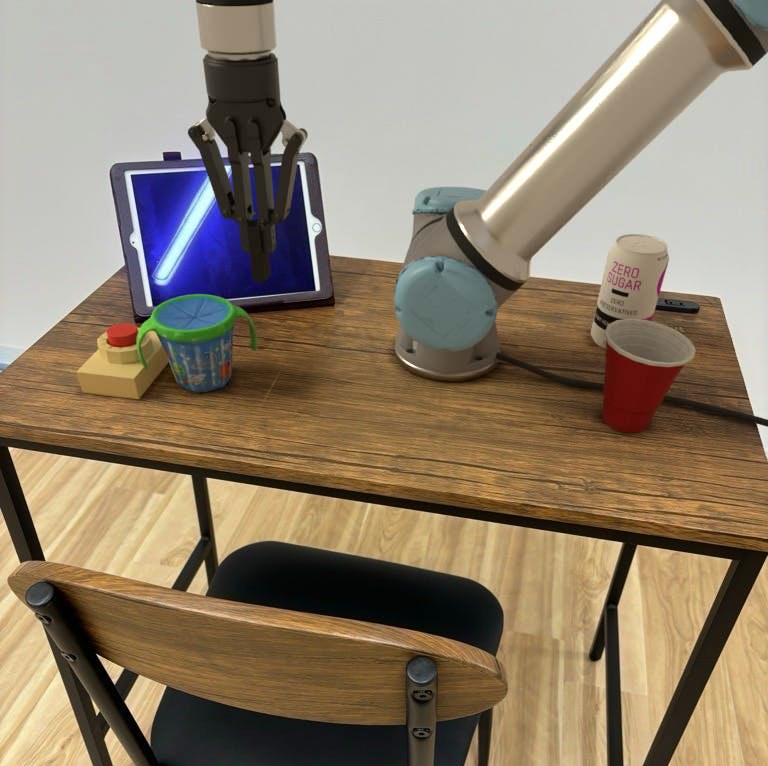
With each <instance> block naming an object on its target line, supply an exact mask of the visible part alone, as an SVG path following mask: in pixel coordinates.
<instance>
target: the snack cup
mask: <svg viewBox="0 0 768 766" xmlns="http://www.w3.org/2000/svg"><path fill="white" fill-rule="evenodd" d="M239 317H240V318H244V319H247V323H248V329H249V335H250V343H249V345H250V348H251V350H252V351H254V352H255V351H257V349H258V341H259V339H258V332H257V328H256V326H255V323H254V321H253V320H252V317H251V316H250V315H249V314H248V312H247V311H245V310H244V309H243V308H241V307H240V306H237V305H234V304H232V303H231V302H230V300H228V299H226V298H224V297H222V296H218V295H212V294H203V293H194V294H185V295H180V296H176V297H173V298H170V299H168V300H165V301H163V302H162V303H161V302H160V304H159V305H157V306H156V307H155V308H154V309H153V311H152V313H151V316H150V317H149V318H148V319H147V320H145V321H144V322H143V323H142V324H141V326H140V327H139V328H140V329H139V331H138V335H137V351H138V354H139V357H140V360H141V363H142V365H143V367H144V368H145V370H148V367H147V364H146V361H145V359H144V358H143V354H142V351H141V341H142V340H143V338H144V337H145V335H146V334H147V332H149V331H155V332H156V334H157V336H158V338H159V340H160V342H161V344H162V346H163V348H164V350H165V352H166V355H167V358H168V361H169V362H168V364H169V366H170V369H171V371H172V374H173V376H174V380H175V381H176V383H177V385H179V386H180V387H181V388H182V389H185V390H187V391H191V392H192V393H206V392H211V391H214V390H217V389H220V388H221V389H222V388H224V387H225V386H226V384H227V383H228V382H229V381H230V380H231V378H232V374H233V353H234V352H233V351H234V348H233V347H234V330H235V322H236V321H237V318H239Z"/></svg>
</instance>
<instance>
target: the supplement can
mask: <svg viewBox="0 0 768 766" xmlns="http://www.w3.org/2000/svg"><path fill="white" fill-rule="evenodd" d="M669 255H670V254H669V251H668V244H667V242H665V241H664V240H662V239H660V238H658V237H655V236H652V235H647V234H640V233H629V234H623V235H620V236H618V237H616V239H615V242H614V243H613V244H612V246H611V247H610V248H609V249H608V253H607V258H606V263H605V266H604V271H603V275H602V280H601V284H600V288H599V293H598V297H597V302H596V307H595V311H594V316H593V320H592V323H591V328H590V337H591V338H592V339H593V341H594V342H595V344H596V345H598V346H599V347H601V348H603V349H605V350H606V338H605V331H606V328H607V326H608V325H609V324H611V323H613V322H615V321H616V320H623V319H639V320H648V321H652V322H653V318H654V314H655V311H656V307H657V303H658V300H659V297H660V293H661V291H662V286H663V283H664V279H665V275H666V272H667V269H668V265H669V262H670V256H669Z"/></svg>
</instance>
